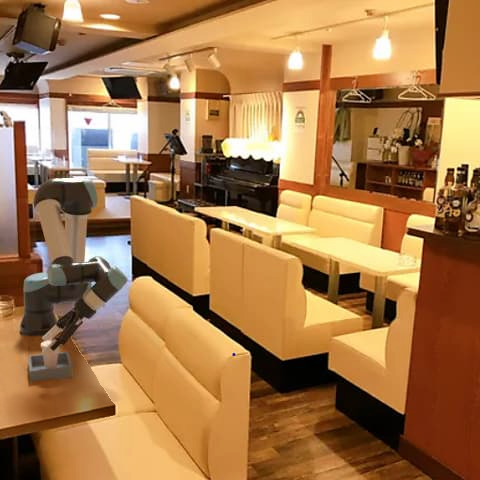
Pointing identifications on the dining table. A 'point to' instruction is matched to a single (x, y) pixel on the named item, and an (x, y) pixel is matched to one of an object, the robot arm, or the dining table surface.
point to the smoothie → (52, 359)
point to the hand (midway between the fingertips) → (44, 347)
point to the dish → (40, 373)
